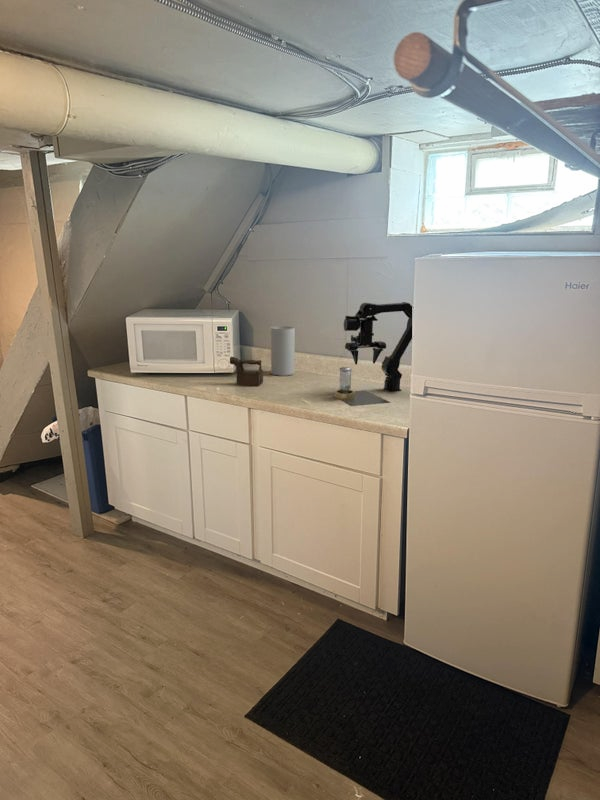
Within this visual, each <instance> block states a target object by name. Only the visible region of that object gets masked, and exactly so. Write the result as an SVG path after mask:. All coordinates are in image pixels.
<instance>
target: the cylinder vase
mask: <svg viewBox="0 0 600 800" xmlns="http://www.w3.org/2000/svg"><path fill="white" fill-rule="evenodd" d="M295 333H296V332H295V327H294V326H287V325H286V326H285V325H284V326H283V325H281V326H280V325H279V326H277V325H276V326H271V327H270V338H271V339H270V347H271V348H270V372H271V373H270V374H272V375H273V376H276V375H278V376H279V377H288V375H289V376H292V375H294V374H295V343H296V341H295V340H296V339H295V335H296V334H295Z"/></svg>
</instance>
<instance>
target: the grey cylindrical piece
mask: <svg viewBox="0 0 600 800" xmlns="http://www.w3.org/2000/svg"><path fill="white" fill-rule="evenodd" d="M352 370H353V369H352V367H346V366H345V367H344V366H343V367H339V386H338V387H339V388H338V390H339V393H344V394H348V393H351V390H352V389H351V388H352Z"/></svg>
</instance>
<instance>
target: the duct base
mask: <svg viewBox="0 0 600 800" xmlns="http://www.w3.org/2000/svg"><path fill="white" fill-rule="evenodd" d="M328 395H331V396H332V397H334V398H336V399H338V400H339V401H341V402H343V403H345V404H346V405H348V406H350V407H356V406H358V407H359V406H369V405H377V404H378V405H379V404H380V405H381V404H391V403H392V402H391V401H388V400H386V399H384V398H383V397H380V396H379V395H377V394H375V393H372V392H371V391H368V390H355V391H354V390H352V389H351V393H348V394H344V393H339V389H337V390H335V391H334V392H330V393H328Z"/></svg>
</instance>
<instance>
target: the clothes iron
mask: <svg viewBox="0 0 600 800" xmlns="http://www.w3.org/2000/svg"><path fill="white" fill-rule="evenodd" d="M262 362H263V361H262V359H261V360H259V359H258V360H256V359H245V358H242V359H239V358H237V357H234V356H230V357H229V364H230V365H234V366H235V368H236V384H237V385H241V386H247V387H248V386H249V387H260V386H261V385H262V384H263V383H264V369H263V368H262ZM244 364H245V365H246V364H247V365H258V366H259V367H258V370H256V369H255V370H252V369H251V370H248V369H245V367H244Z"/></svg>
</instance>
